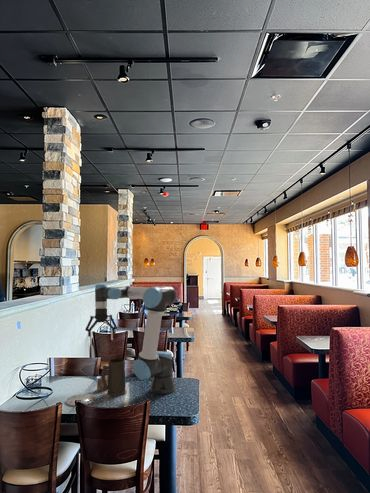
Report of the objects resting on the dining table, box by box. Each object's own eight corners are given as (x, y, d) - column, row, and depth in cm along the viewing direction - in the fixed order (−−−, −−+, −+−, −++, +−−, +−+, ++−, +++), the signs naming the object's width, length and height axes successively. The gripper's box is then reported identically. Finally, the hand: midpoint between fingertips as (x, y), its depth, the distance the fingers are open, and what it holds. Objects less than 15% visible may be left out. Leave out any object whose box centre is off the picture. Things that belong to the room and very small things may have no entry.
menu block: (113, 387, 238) (113, 376, 238) (103, 391, 230) (103, 379, 230) (107, 386, 240) (107, 375, 241) (97, 390, 233) (97, 378, 233)
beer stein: (118, 388, 235) (116, 356, 235) (130, 392, 228) (128, 359, 228) (98, 397, 223) (96, 363, 223) (110, 401, 216) (108, 366, 216)
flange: (101, 400, 215) (101, 398, 215) (76, 408, 203) (76, 406, 203) (85, 394, 226) (85, 392, 226) (60, 401, 213) (60, 399, 214)
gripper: (119, 306, 256) (119, 338, 255) (80, 308, 247) (81, 341, 246) (121, 307, 249) (121, 340, 248) (82, 309, 240) (82, 343, 239)
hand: (101, 340), depth 247 cm, fingers open, 13 cm apart
